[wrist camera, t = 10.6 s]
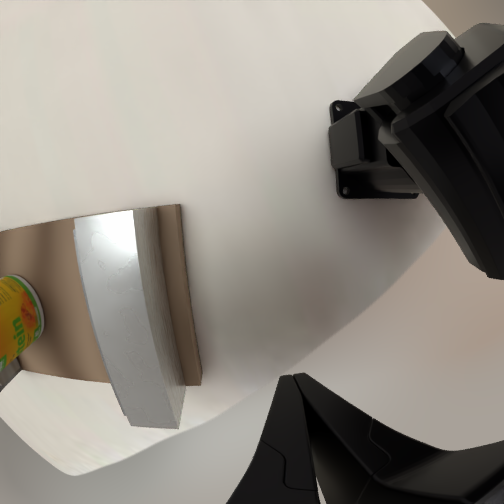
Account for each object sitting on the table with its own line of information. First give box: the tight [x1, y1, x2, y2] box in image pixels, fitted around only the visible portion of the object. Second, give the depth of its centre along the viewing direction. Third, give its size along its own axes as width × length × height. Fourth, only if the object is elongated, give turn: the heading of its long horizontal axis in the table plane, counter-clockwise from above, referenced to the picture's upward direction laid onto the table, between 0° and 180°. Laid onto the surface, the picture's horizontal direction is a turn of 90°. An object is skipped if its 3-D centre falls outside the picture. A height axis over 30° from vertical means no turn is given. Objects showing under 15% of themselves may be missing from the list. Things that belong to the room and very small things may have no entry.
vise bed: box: [0, 204, 202, 392], centre depth 14 cm, size 20×12×6 cm, turn 94°
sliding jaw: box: [73, 207, 186, 429], centre depth 14 cm, size 3×12×4 cm, turn 4°
